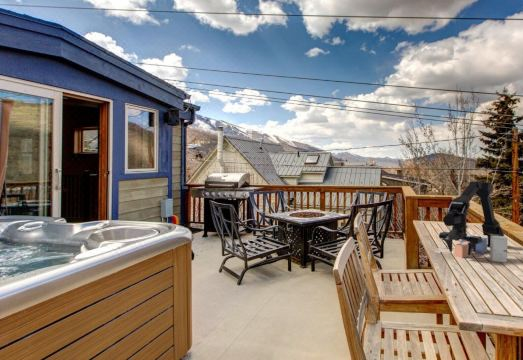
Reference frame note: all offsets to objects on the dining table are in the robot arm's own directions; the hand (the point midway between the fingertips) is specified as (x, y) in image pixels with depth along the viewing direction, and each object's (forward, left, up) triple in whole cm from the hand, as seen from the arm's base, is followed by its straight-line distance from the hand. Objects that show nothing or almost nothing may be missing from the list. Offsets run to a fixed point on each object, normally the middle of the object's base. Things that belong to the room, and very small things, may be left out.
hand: (459, 253), depth 168 cm
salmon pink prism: (-5, 0, -2) cm, 5 cm away
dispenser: (-17, 0, -2) cm, 17 cm away
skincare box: (-6, +15, -2) cm, 16 cm away
